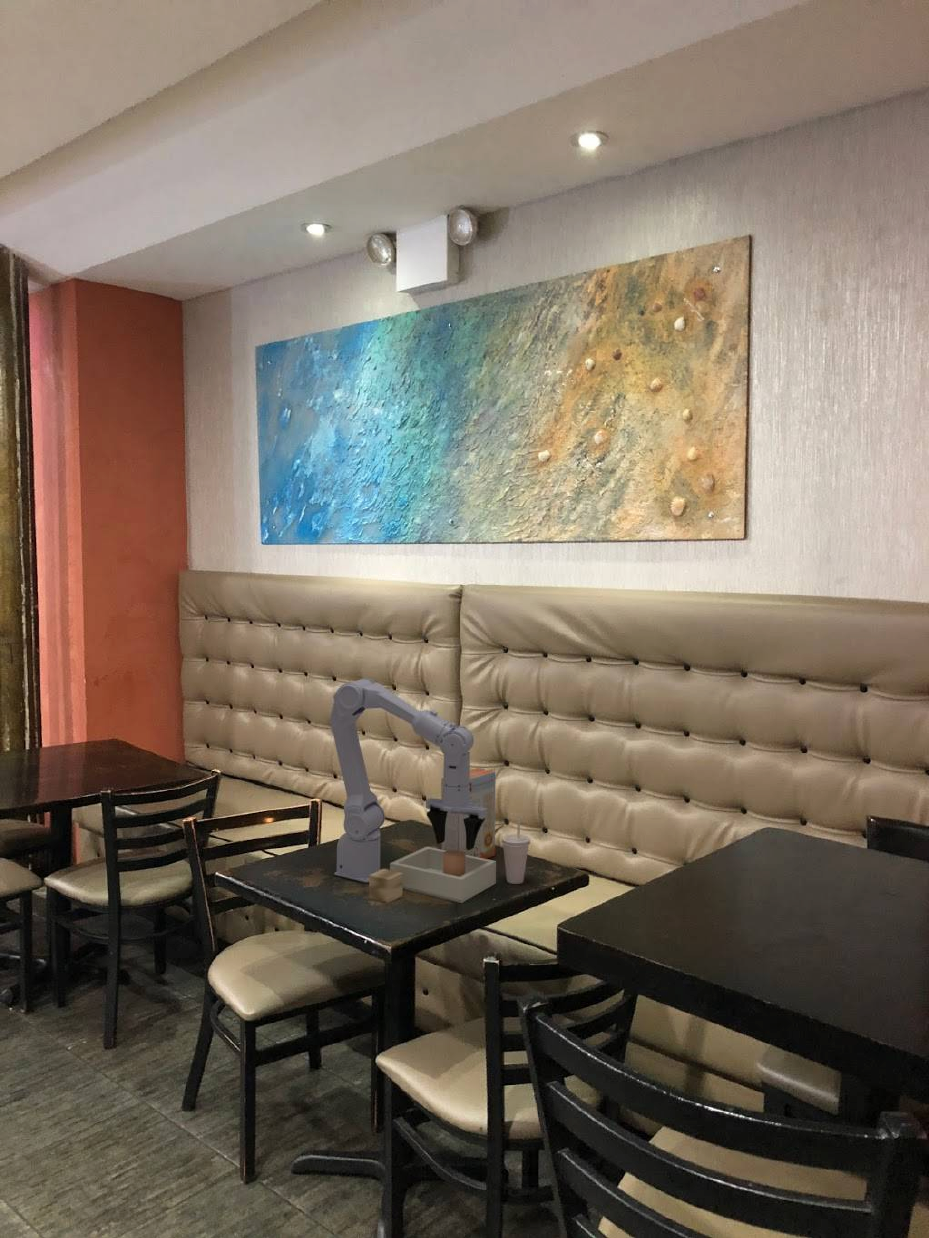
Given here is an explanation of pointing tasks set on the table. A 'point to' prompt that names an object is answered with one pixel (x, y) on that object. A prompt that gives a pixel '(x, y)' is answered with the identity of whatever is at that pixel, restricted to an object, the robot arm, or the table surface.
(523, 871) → the smoothie
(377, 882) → the cube
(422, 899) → the table surface
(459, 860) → the cylinder
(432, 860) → the tote
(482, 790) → the cracker box
